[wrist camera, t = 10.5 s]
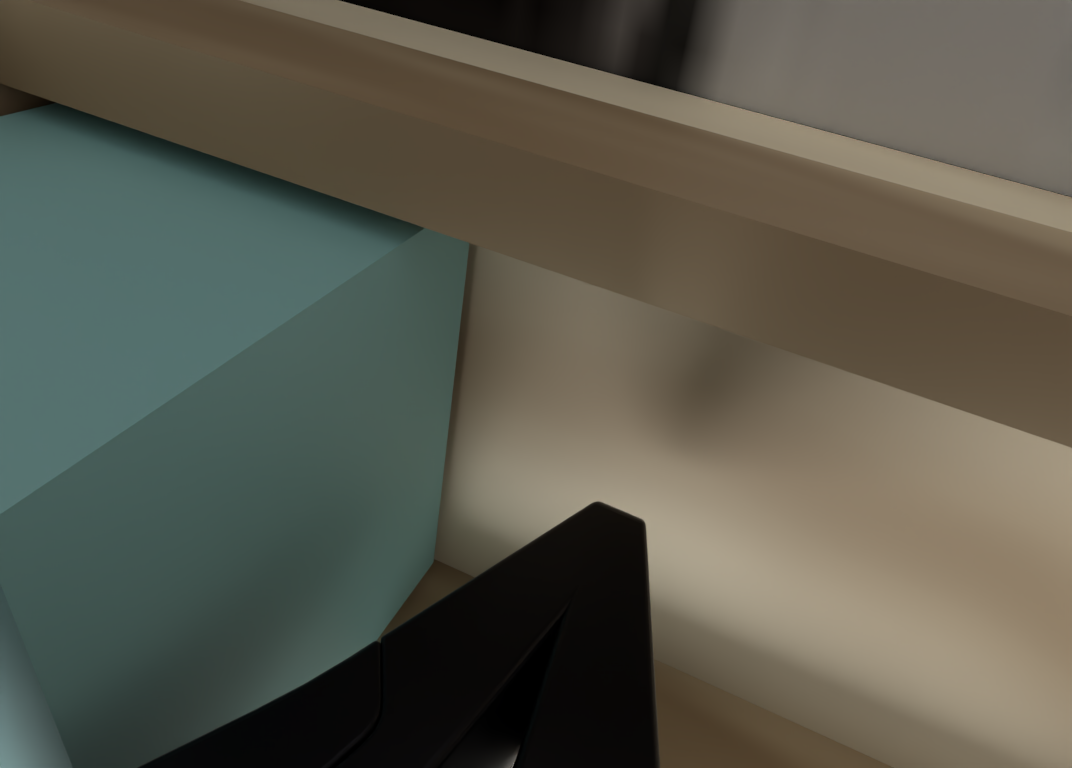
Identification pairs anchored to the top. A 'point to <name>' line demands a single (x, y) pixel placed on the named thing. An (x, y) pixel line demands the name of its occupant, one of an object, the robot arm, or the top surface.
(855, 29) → the top surface
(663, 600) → the channel
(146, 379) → the teal block
